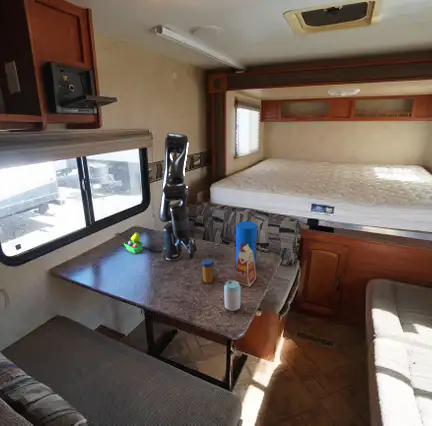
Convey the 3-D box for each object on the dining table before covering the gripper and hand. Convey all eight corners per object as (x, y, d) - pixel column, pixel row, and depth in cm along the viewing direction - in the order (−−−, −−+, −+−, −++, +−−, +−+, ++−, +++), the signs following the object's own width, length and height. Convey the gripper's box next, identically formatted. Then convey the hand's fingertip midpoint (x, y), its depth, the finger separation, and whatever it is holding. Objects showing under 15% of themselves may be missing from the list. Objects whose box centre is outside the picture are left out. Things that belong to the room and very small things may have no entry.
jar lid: (199, 264, 144) (199, 261, 143) (207, 260, 148) (207, 257, 147) (207, 268, 140) (207, 265, 139) (215, 264, 144) (215, 261, 143)
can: (222, 309, 125) (222, 286, 120) (227, 300, 131) (226, 278, 127) (238, 313, 122) (238, 289, 118) (242, 303, 128) (242, 280, 124)
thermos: (233, 268, 157) (233, 227, 148) (240, 259, 165) (240, 220, 157) (252, 273, 152) (252, 230, 143) (258, 263, 161) (259, 223, 152)
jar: (201, 280, 147) (200, 262, 143) (208, 276, 150) (207, 258, 147) (208, 284, 144) (207, 265, 140) (215, 279, 147) (214, 261, 143)
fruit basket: (124, 250, 182) (121, 234, 178) (135, 245, 188) (133, 229, 185) (134, 255, 175) (132, 238, 171) (146, 250, 181) (144, 234, 178)
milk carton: (249, 286, 140) (250, 250, 133) (232, 281, 145) (232, 246, 138) (256, 277, 147) (257, 243, 140) (240, 273, 152) (240, 239, 145)
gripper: (198, 226, 124) (201, 256, 131) (176, 217, 133) (181, 246, 140) (185, 234, 119) (190, 264, 127) (164, 224, 128) (169, 253, 136)
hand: (185, 255), depth 134 cm, fingers open, 8 cm apart
